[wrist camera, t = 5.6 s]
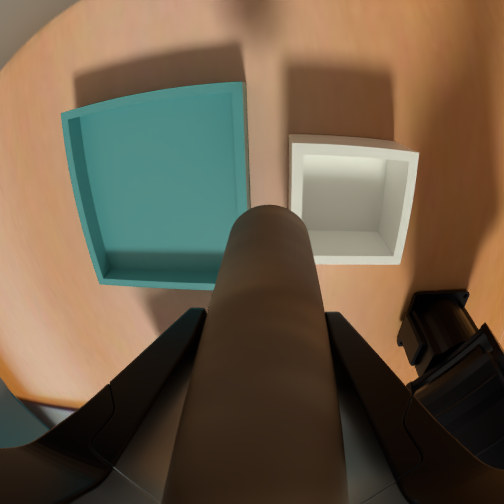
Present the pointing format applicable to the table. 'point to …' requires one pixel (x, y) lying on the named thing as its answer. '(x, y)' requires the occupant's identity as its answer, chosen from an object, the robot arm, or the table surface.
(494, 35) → the table surface
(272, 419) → the dowel
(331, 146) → the white square box
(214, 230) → the tray
